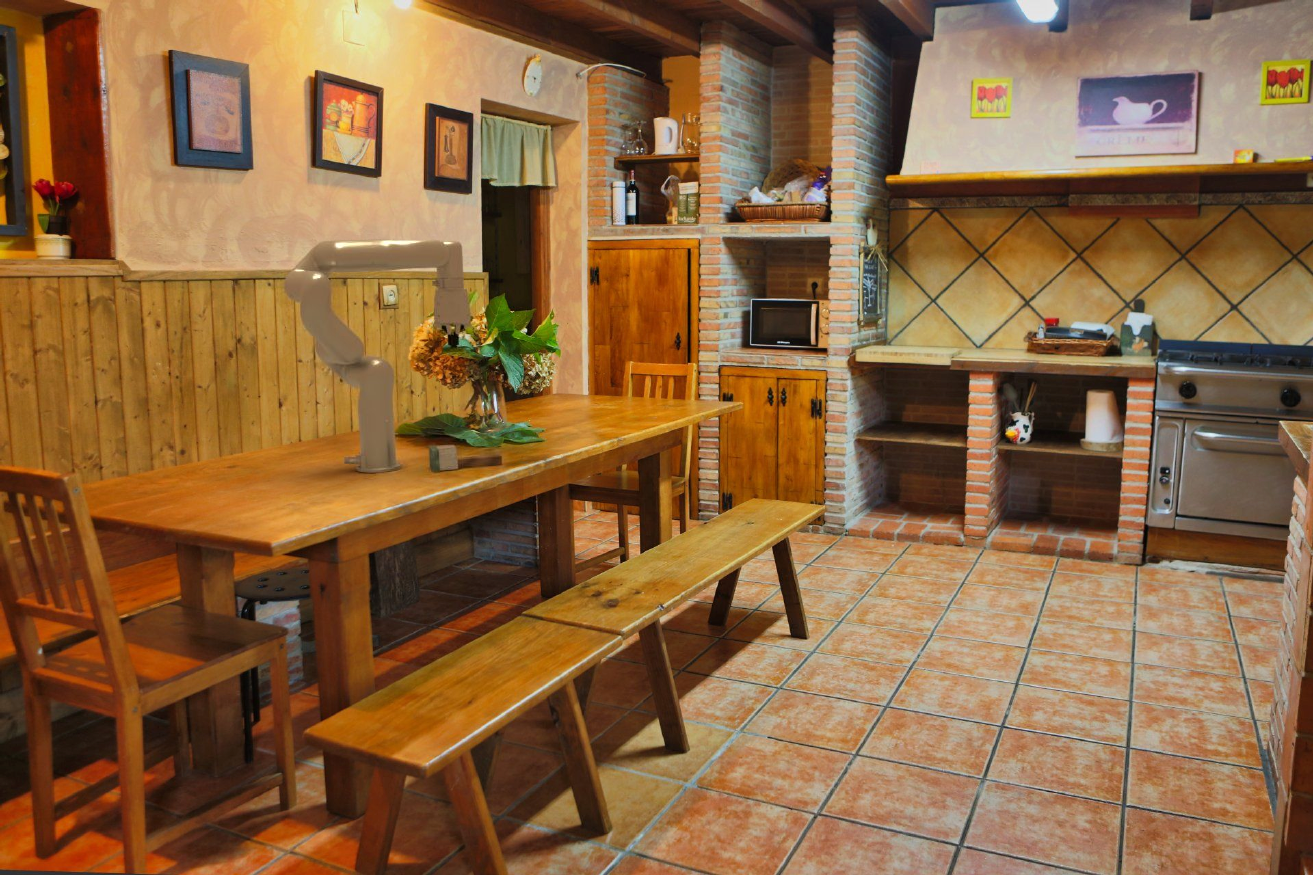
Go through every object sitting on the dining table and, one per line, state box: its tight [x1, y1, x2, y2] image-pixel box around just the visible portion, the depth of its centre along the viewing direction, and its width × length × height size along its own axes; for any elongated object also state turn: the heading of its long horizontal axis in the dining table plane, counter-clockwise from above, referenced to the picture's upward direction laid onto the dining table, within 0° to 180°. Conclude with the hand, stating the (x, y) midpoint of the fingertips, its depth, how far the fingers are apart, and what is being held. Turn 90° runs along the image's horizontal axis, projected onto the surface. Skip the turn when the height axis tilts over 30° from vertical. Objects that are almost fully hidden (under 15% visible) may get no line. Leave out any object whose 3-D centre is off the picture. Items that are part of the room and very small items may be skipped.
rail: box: [428, 445, 503, 473], centre depth 292 cm, size 20×8×6 cm, turn 110°
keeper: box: [434, 444, 459, 471], centre depth 290 cm, size 5×7×6 cm
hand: (453, 347), depth 304 cm, fingers closed
